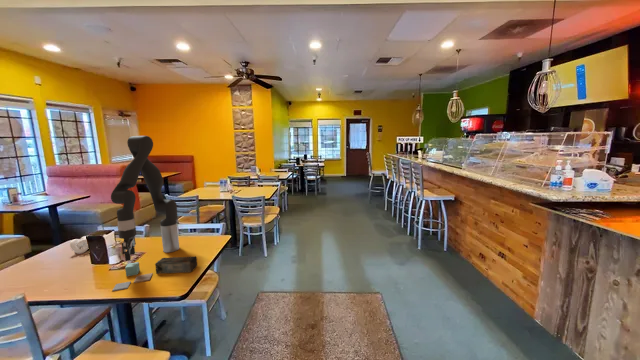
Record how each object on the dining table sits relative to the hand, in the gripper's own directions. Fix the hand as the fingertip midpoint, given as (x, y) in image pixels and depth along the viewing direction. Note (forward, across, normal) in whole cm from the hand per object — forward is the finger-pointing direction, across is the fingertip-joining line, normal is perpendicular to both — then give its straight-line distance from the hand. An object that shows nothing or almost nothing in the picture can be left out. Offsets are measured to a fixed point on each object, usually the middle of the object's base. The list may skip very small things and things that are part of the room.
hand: (130, 257), depth 143 cm
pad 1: (+9, +14, -1) cm, 17 cm away
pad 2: (+9, +9, +7) cm, 14 cm away
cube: (+9, 0, 0) cm, 9 cm away
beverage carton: (+10, +5, +22) cm, 24 cm away
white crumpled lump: (+9, -48, -39) cm, 63 cm away
